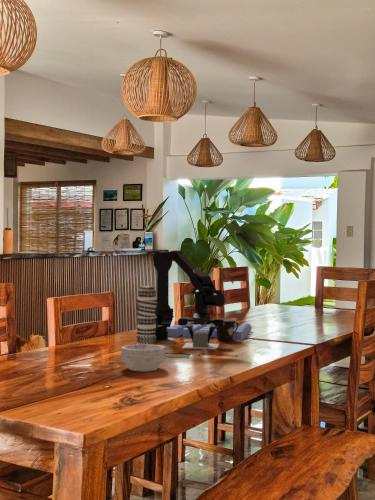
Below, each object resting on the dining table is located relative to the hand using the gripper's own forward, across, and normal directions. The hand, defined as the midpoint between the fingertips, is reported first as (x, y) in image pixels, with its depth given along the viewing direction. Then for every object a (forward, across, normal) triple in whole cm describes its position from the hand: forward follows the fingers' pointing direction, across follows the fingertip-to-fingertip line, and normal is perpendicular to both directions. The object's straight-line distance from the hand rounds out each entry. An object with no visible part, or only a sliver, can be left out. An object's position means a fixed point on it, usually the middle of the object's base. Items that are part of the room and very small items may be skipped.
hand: (201, 342), depth 269 cm
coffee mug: (+3, +10, +19) cm, 22 cm away
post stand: (+2, 0, 0) cm, 2 cm away
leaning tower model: (+3, -24, +6) cm, 25 cm away
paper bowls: (+3, -15, -47) cm, 49 cm away
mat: (+2, -8, -16) cm, 18 cm away
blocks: (+3, 0, +43) cm, 43 cm away
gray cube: (+1, 0, 0) cm, 1 cm away
